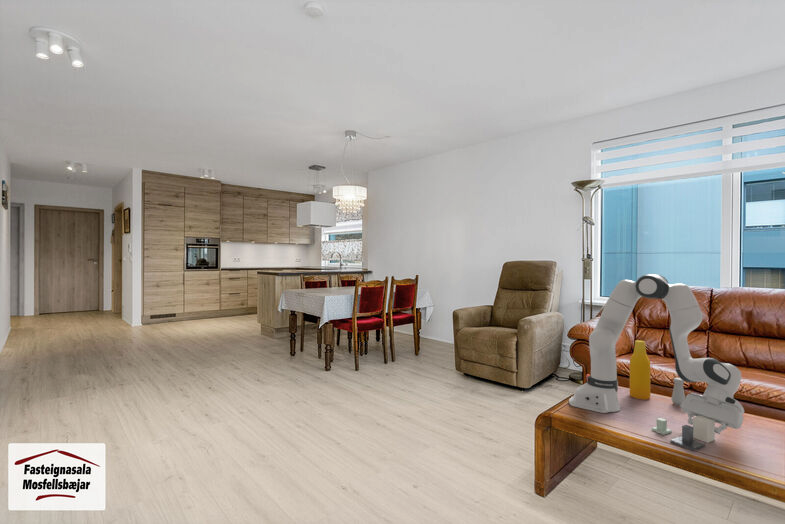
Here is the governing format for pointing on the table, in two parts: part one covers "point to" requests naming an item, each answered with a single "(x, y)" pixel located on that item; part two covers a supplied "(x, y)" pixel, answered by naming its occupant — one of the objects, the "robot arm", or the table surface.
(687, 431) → the post
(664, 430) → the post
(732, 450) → the table surface
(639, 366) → the beer bottle
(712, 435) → the white rectangular block
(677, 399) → the salt shaker
